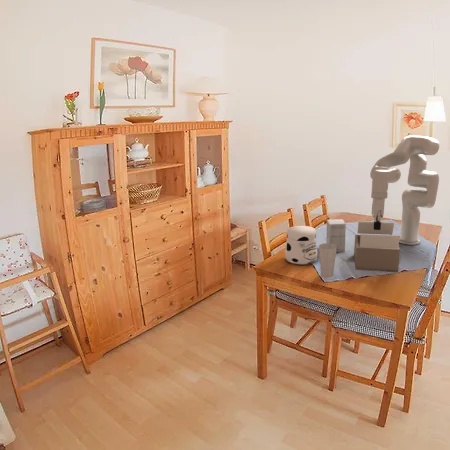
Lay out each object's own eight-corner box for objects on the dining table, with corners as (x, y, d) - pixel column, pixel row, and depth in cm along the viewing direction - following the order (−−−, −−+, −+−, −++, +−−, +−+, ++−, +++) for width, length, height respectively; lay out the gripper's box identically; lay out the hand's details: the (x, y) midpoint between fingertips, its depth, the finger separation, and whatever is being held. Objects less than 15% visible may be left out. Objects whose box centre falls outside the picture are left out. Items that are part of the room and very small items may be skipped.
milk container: (315, 268, 201) (316, 236, 196) (282, 266, 207) (282, 234, 201) (318, 256, 217) (319, 225, 212) (287, 254, 222) (287, 224, 217)
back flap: (357, 233, 212) (357, 233, 212) (392, 234, 207) (392, 234, 208) (358, 222, 206) (358, 221, 207) (394, 223, 202) (394, 222, 202)
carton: (354, 254, 216) (355, 234, 213) (392, 256, 211) (394, 236, 207) (355, 269, 198) (356, 247, 194) (398, 272, 193) (400, 249, 189)
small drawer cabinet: (342, 246, 230) (343, 218, 225) (345, 251, 221) (346, 223, 216) (325, 246, 231) (326, 219, 226) (328, 252, 222) (329, 224, 217)
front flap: (360, 234, 188) (360, 234, 188) (400, 235, 183) (400, 236, 183) (359, 246, 194) (359, 247, 193) (397, 248, 189) (397, 248, 189)
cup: (336, 279, 189) (337, 249, 184) (318, 278, 190) (319, 249, 186) (335, 272, 196) (336, 243, 192) (318, 271, 198) (318, 242, 194)
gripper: (370, 191, 202) (368, 224, 208) (372, 198, 188) (370, 233, 194) (385, 191, 200) (383, 225, 206) (389, 198, 186) (386, 234, 192)
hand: (376, 229), depth 200 cm, fingers closed
